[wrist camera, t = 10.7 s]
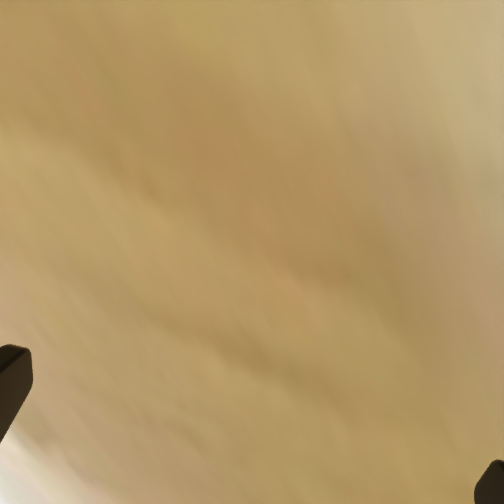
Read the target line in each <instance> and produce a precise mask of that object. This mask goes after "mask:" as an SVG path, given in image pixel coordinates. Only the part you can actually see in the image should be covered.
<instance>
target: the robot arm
mask: <svg viewBox="0 0 504 504" xmlns="http://www.w3.org/2000/svg"><path fill="white" fill-rule="evenodd" d="M32 384H33V370H32V358H31V352H30V350H29V349H27V348H25V347H21V346H16V345H12V344H8V345H4V346H2V347H0V443H1V441H2V440H3V438H4V436H5V434H6V432H7V431H8V429H9V427H10V425H11V424H12V422H13V420H14V418H15V417H16V415H17V413H18V411H19V409H20V408H21V406H22V404H23V402H24V401H25V399H26V397H27V395H28V394H29V392H30V390H31V387H32ZM474 501H475V504H504V461H503V460H494V461H492V463H491V464H490V465H489V467H488V468H487V470H486V471H485V472H484V474H483V475H482V477H481V478H480V480H479V481H478V482H477V484H476V487H475V490H474Z"/></svg>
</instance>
